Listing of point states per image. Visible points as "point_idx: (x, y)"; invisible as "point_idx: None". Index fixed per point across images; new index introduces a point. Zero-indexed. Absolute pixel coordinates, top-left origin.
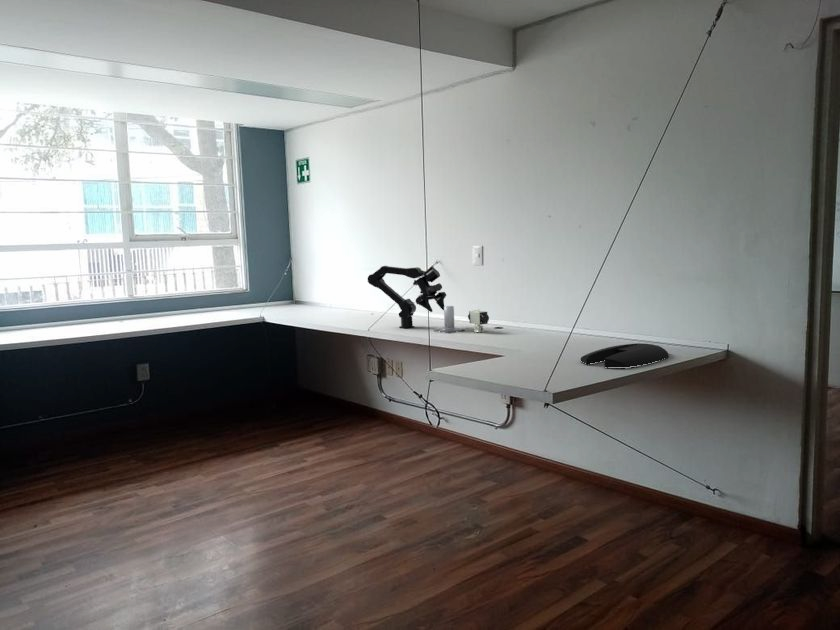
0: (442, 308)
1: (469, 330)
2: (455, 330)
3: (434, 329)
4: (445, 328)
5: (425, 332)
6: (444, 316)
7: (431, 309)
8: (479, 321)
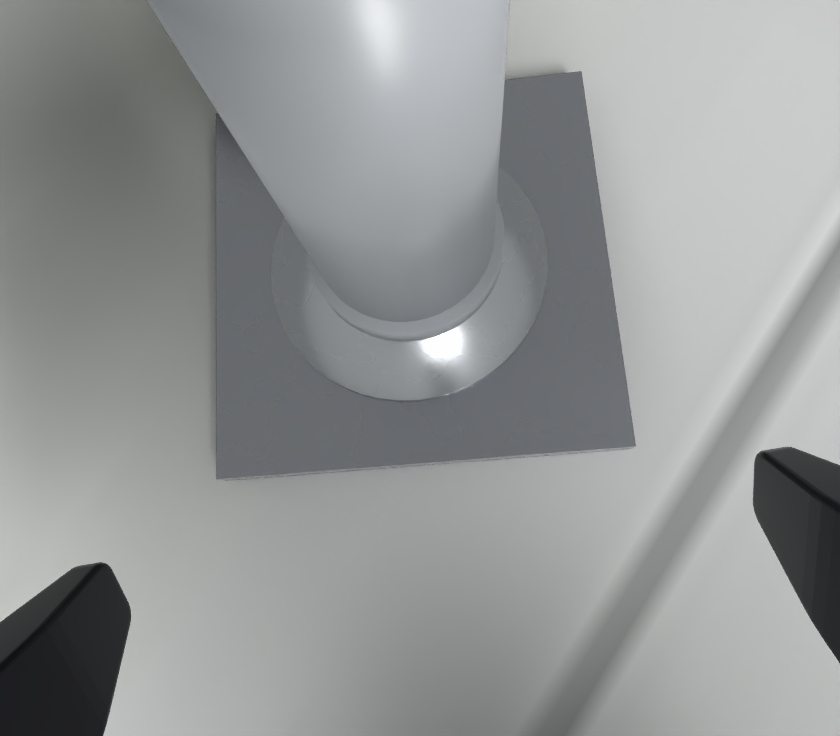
0: (93, 677)
1: (175, 96)
2: None
3: (605, 444)
4: (502, 226)
5: (815, 433)
6: (497, 141)
7: (837, 470)
8: None
